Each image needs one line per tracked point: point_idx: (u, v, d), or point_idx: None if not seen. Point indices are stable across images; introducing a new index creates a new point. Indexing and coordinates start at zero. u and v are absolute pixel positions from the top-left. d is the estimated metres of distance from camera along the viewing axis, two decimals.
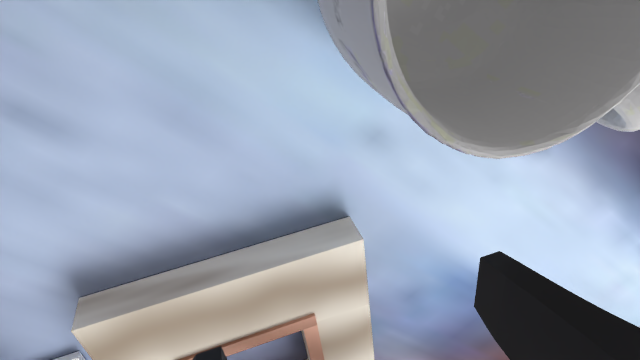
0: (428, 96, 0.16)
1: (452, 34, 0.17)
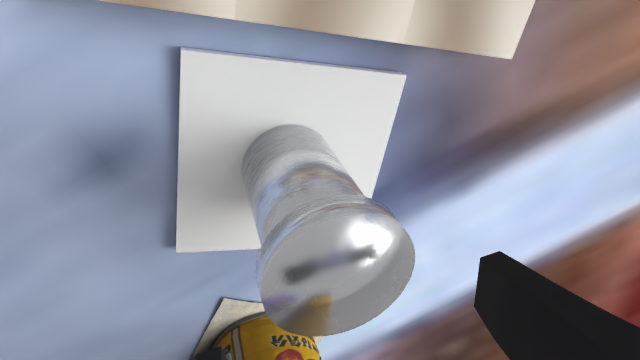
0: None
1: None
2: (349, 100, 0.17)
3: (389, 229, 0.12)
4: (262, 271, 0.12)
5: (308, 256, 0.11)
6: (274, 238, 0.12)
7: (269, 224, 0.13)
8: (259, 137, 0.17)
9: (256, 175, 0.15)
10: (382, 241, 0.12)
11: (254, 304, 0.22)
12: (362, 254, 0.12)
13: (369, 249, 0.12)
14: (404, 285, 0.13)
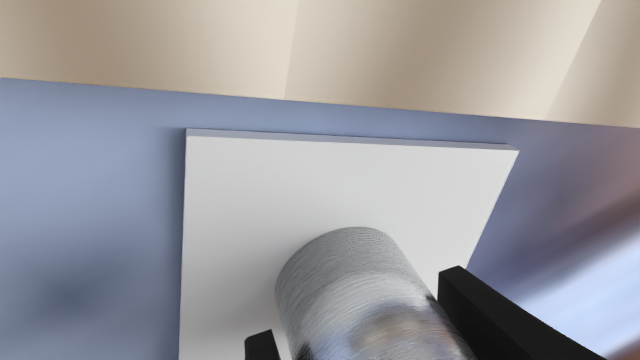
0: None
1: None
2: (436, 189, 0.12)
3: None
4: None
5: None
6: None
7: None
8: (304, 249, 0.11)
9: (306, 327, 0.10)
10: None
11: None
12: None
13: None
14: None
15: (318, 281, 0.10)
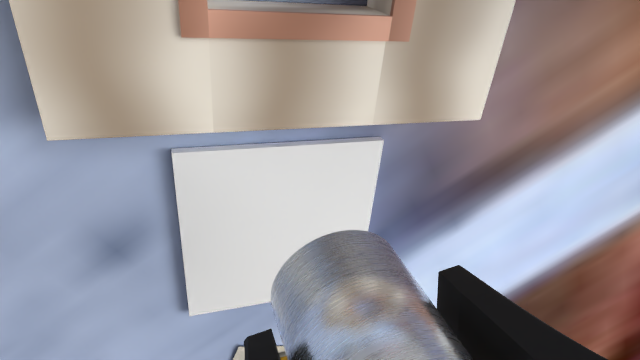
0: None
1: None
2: (332, 169, 0.19)
3: None
4: None
5: None
6: None
7: None
8: (299, 253, 0.11)
9: (302, 330, 0.10)
10: None
11: None
12: None
13: None
14: None
15: (314, 284, 0.10)
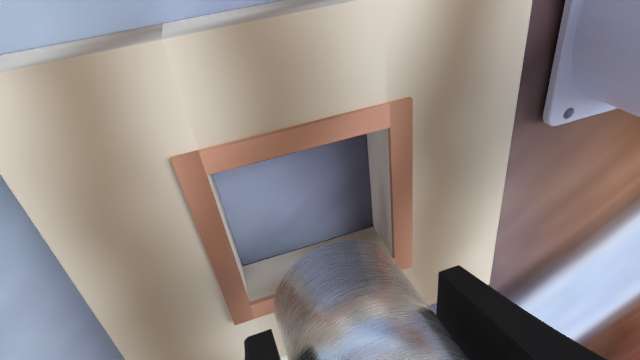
0: None
1: None
2: None
3: None
4: None
5: None
6: None
7: None
8: (300, 262, 0.12)
9: (304, 335, 0.10)
10: None
11: None
12: None
13: None
14: None
15: (314, 291, 0.10)
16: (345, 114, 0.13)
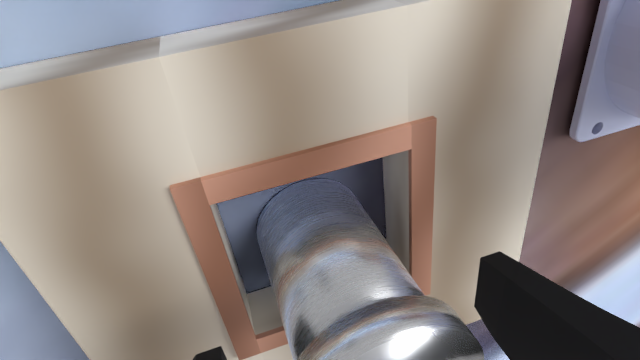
0: None
1: None
2: None
3: (458, 341, 0.09)
4: None
5: None
6: (314, 358, 0.09)
7: (301, 325, 0.10)
8: (278, 195, 0.14)
9: (278, 248, 0.13)
10: (448, 355, 0.09)
11: None
12: None
13: None
14: None
15: (288, 216, 0.13)
16: (362, 136, 0.12)
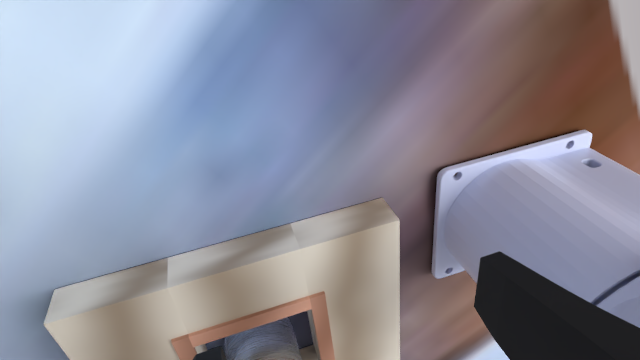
0: None
1: None
2: None
3: None
4: None
5: None
6: None
7: None
8: None
9: None
10: None
11: None
12: None
13: None
14: None
15: (241, 341, 0.22)
16: (281, 305, 0.21)
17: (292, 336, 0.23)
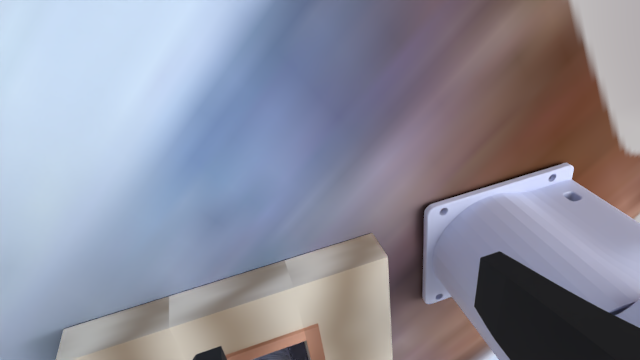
0: None
1: None
2: None
3: None
4: None
5: None
6: None
7: None
8: None
9: None
10: None
11: None
12: None
13: None
14: None
15: None
16: (277, 338, 0.22)
17: None
